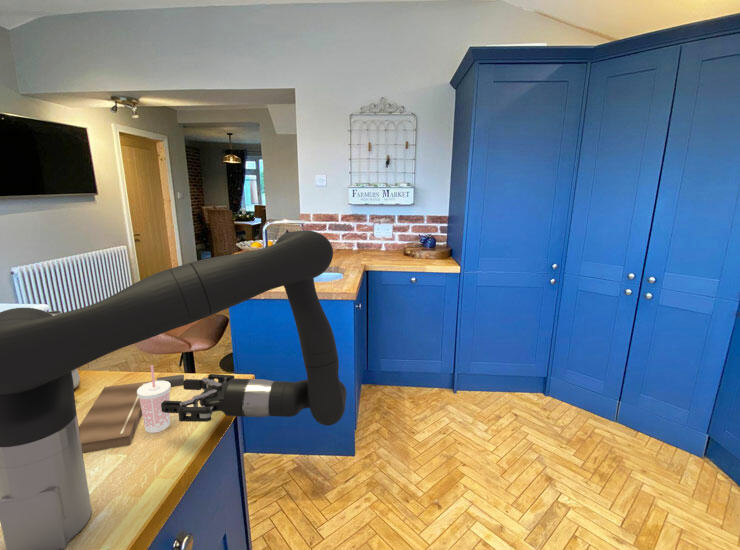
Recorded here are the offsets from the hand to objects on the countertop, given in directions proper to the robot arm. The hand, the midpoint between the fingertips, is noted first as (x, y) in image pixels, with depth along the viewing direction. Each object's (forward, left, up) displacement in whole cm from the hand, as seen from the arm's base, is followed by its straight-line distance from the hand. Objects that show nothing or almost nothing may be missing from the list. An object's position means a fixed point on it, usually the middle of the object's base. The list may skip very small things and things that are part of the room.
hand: (173, 394), depth 75 cm
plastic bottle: (+23, +28, -8) cm, 37 cm away
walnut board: (+8, +9, -8) cm, 14 cm away
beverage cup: (+1, +4, -8) cm, 9 cm away
